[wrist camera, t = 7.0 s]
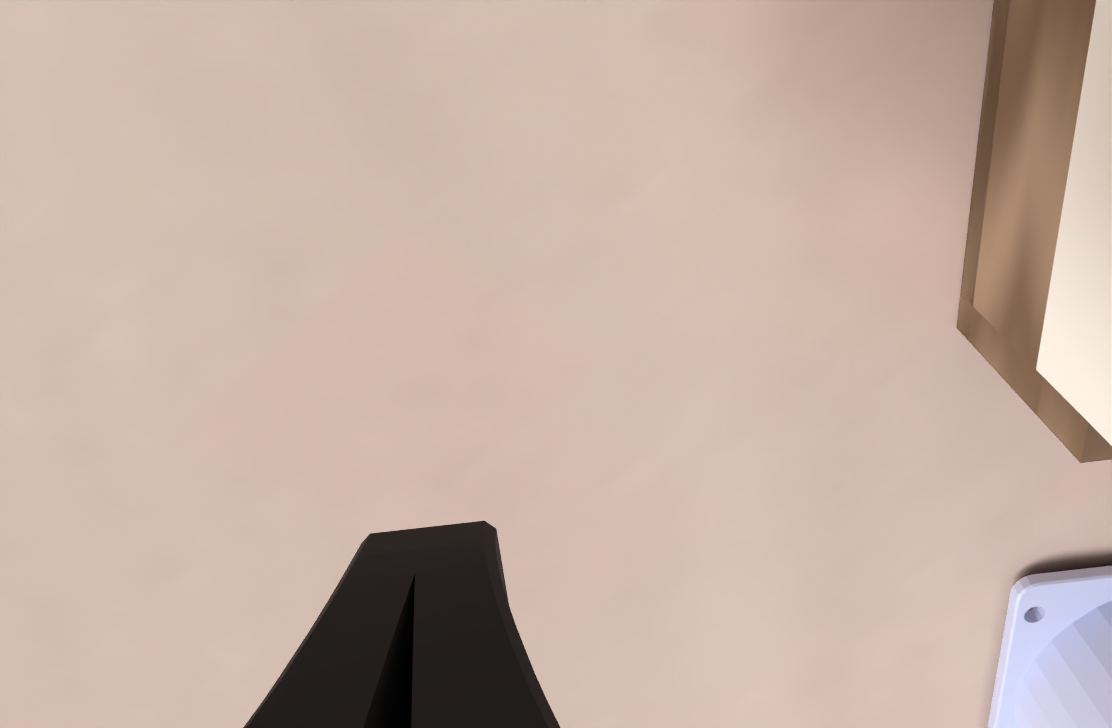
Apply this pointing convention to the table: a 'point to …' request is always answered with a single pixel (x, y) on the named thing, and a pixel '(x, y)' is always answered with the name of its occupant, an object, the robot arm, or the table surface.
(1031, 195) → the box
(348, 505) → the table surface
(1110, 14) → the lid
